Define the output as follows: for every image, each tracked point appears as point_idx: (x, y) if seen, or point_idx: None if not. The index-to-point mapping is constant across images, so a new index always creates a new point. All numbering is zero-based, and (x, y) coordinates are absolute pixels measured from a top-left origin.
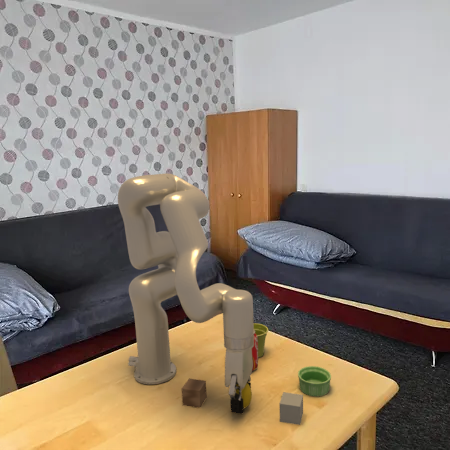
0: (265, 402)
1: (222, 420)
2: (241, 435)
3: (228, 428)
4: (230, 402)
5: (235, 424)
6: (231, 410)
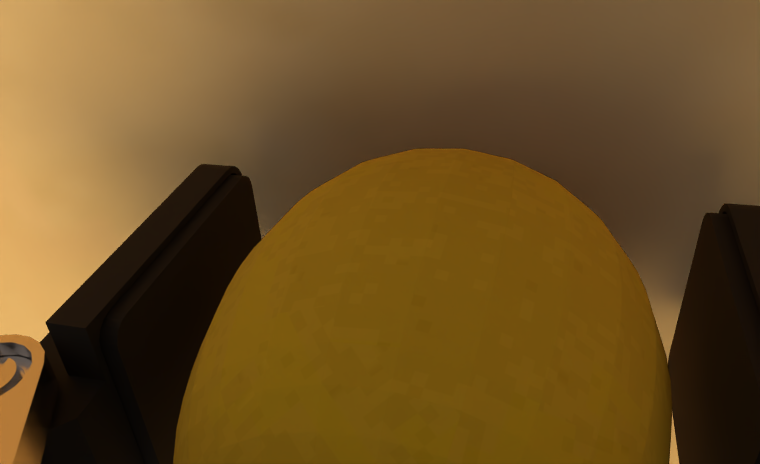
0: (677, 461)
1: (127, 19)
2: (39, 284)
3: (45, 140)
4: (111, 256)
5: (146, 201)
6: (199, 180)
